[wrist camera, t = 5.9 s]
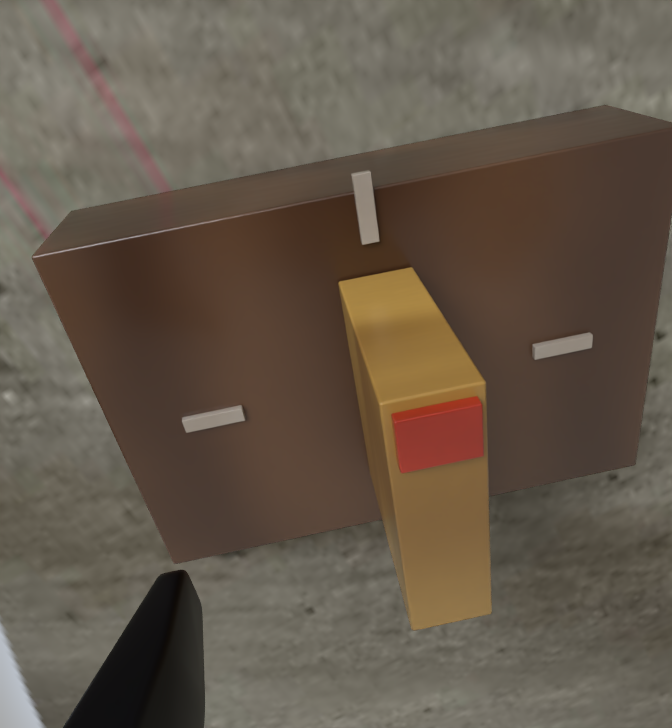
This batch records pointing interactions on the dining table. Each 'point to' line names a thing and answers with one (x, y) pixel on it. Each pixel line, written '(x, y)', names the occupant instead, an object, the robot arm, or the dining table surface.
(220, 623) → the dining table surface
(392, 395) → the lock knob
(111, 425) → the panel
